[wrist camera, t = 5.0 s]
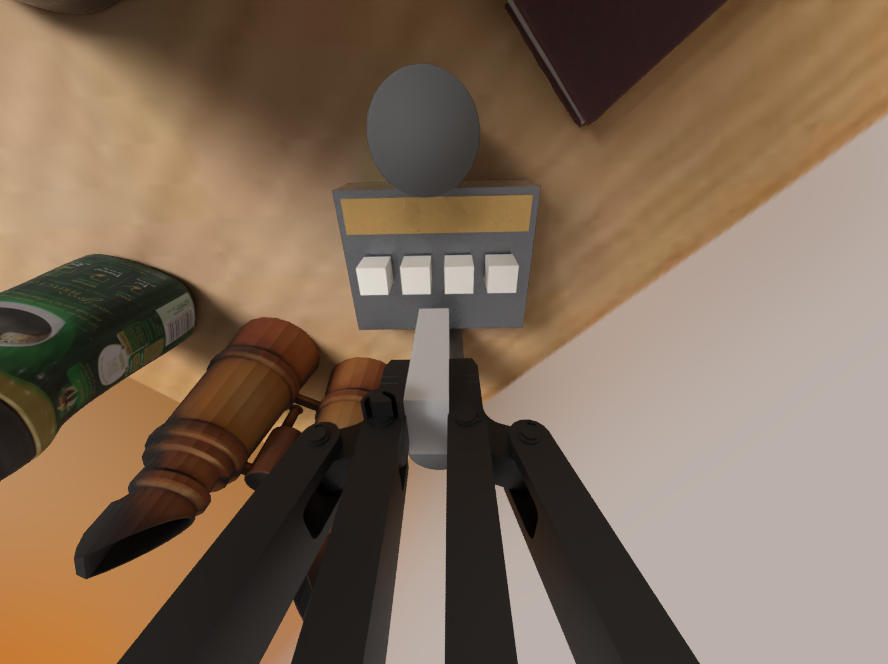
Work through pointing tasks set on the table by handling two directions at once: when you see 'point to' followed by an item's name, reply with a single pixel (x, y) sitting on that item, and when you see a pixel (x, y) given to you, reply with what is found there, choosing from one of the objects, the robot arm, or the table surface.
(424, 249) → the breaker box
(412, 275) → the row of white cubes
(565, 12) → the book
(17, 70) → the table surface
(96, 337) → the coffee jar
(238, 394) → the binoculars
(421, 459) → the post
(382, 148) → the post
